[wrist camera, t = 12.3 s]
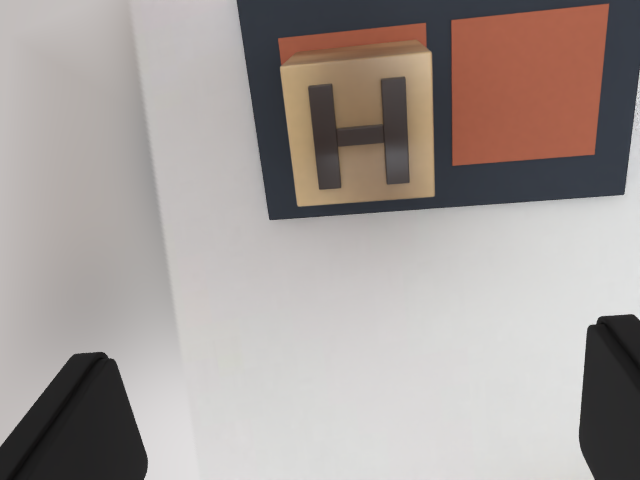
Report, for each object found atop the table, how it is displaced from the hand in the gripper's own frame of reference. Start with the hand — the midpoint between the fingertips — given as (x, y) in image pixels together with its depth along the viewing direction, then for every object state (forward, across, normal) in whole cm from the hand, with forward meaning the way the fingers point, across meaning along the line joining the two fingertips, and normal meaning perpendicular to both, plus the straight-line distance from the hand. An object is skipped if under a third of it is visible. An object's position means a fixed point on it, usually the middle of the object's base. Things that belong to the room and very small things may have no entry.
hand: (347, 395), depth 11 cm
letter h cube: (+15, -1, -3) cm, 15 cm away
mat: (+16, -4, -3) cm, 16 cm away
